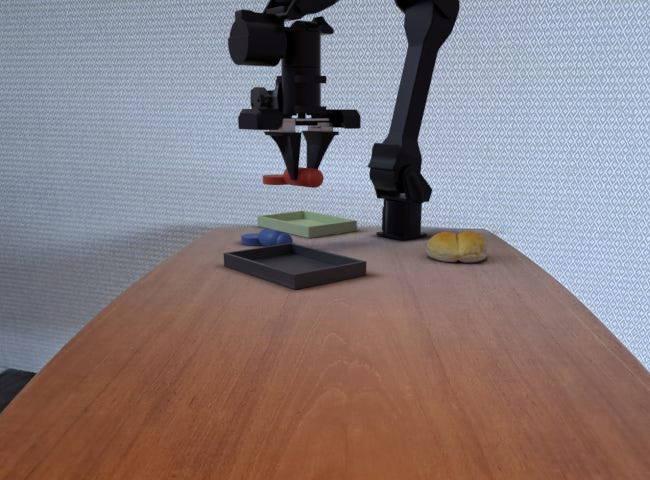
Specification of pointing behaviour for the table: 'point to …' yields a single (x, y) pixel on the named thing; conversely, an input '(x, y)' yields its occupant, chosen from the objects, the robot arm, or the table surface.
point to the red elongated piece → (304, 178)
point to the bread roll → (457, 247)
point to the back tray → (307, 223)
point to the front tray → (295, 265)
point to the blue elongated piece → (266, 238)
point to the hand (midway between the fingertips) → (302, 179)
